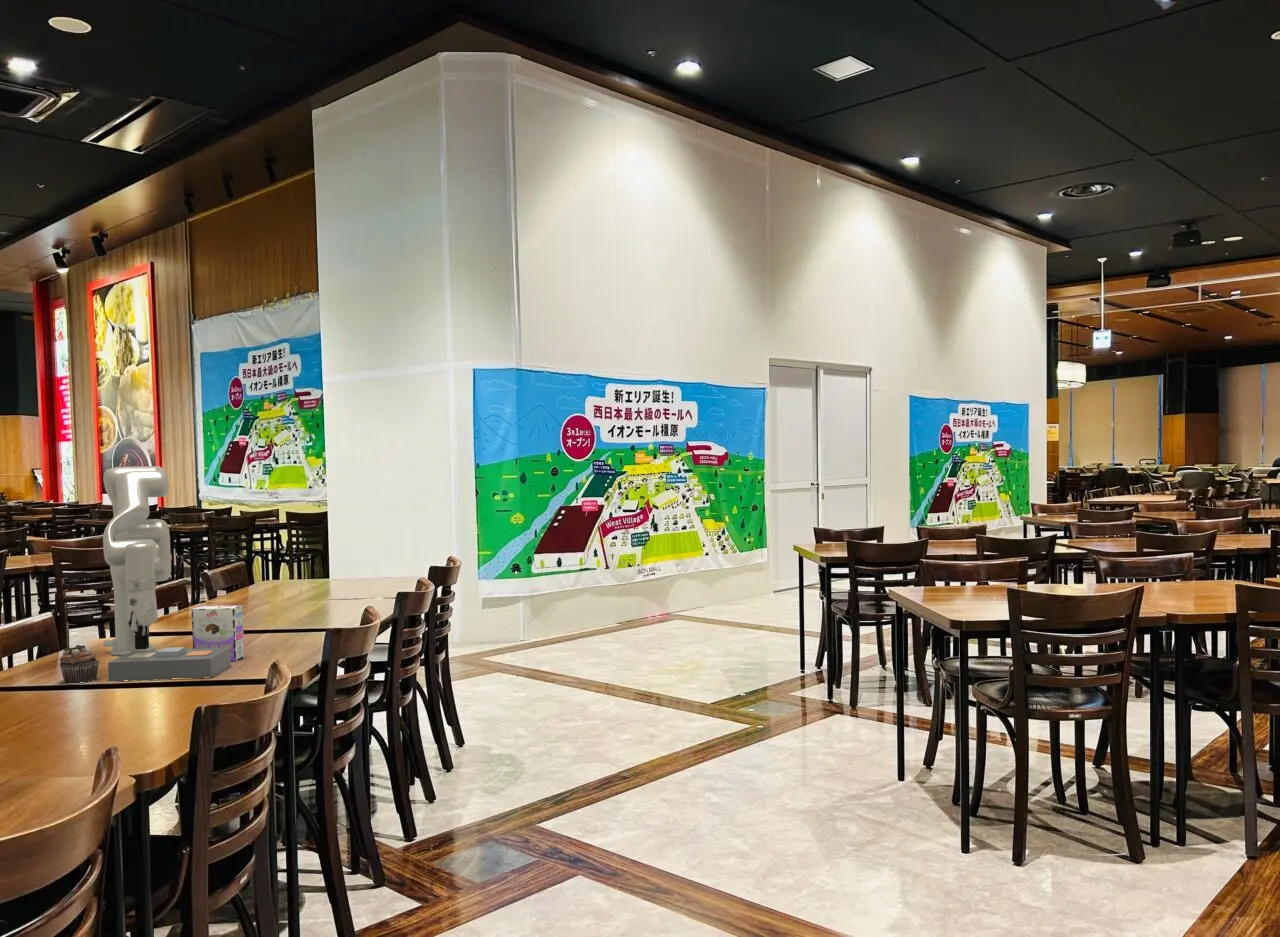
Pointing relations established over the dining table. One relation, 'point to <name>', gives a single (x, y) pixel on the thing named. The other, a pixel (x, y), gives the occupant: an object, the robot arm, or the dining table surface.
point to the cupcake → (78, 665)
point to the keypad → (169, 665)
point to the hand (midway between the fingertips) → (142, 648)
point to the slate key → (171, 652)
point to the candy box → (219, 628)
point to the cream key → (142, 655)
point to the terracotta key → (199, 653)
